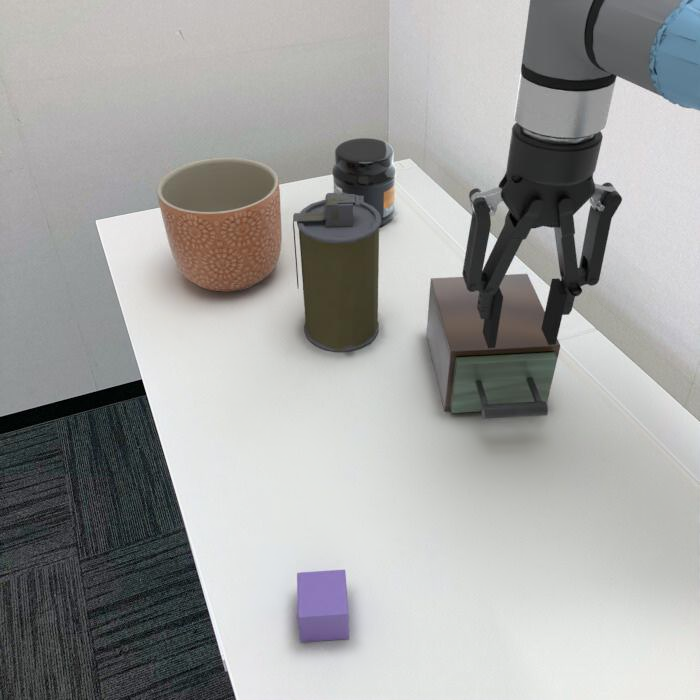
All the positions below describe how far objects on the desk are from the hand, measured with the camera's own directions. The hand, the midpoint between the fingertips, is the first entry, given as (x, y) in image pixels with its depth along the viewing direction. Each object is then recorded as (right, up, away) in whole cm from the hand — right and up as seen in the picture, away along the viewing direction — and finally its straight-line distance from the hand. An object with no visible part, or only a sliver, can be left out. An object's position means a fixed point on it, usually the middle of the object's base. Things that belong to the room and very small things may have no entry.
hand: (518, 337), depth 74 cm
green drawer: (0, -6, +13) cm, 14 cm away
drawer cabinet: (-1, -4, +17) cm, 17 cm away
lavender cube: (-20, -26, -9) cm, 34 cm away
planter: (-36, +10, +35) cm, 51 cm away
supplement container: (-15, +22, +48) cm, 55 cm away
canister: (-19, +2, +24) cm, 31 cm away
